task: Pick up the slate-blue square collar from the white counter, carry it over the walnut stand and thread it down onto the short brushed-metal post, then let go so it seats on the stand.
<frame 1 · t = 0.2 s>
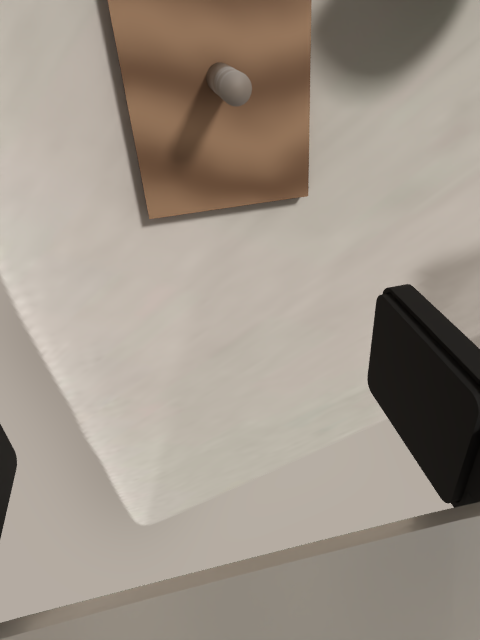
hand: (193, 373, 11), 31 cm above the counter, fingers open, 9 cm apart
shaft stand: (217, 75, 35), on the counter
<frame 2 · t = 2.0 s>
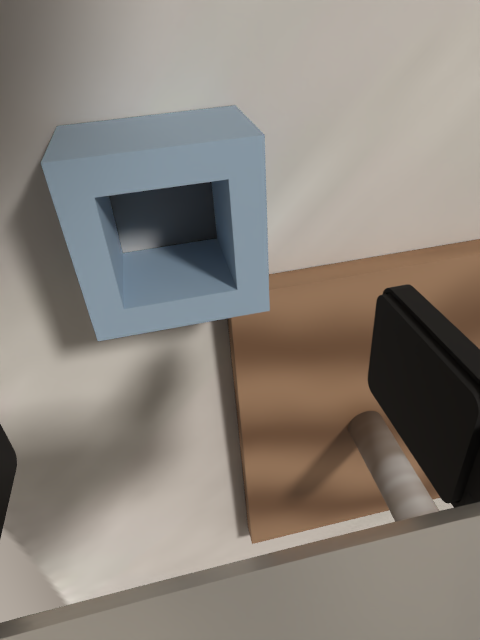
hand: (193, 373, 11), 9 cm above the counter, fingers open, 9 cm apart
shaft stand: (356, 407, 27), on the counter
collar: (162, 200, 17), on the counter
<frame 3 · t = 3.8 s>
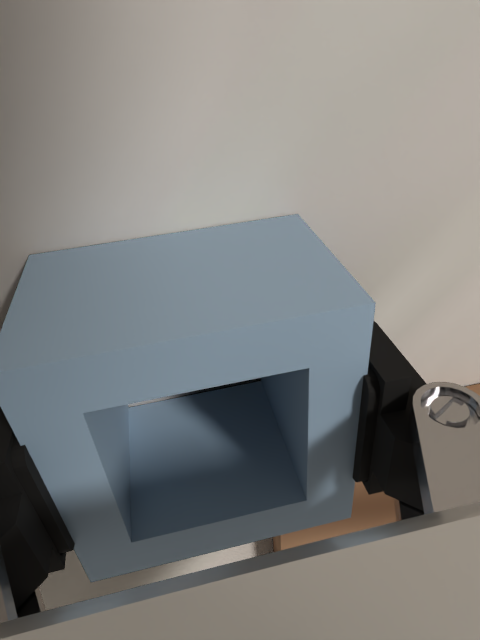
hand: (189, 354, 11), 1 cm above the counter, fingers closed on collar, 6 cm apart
shaft stand: (422, 546, 21), on the counter
collar: (187, 340, 12), on the counter, touching gripper
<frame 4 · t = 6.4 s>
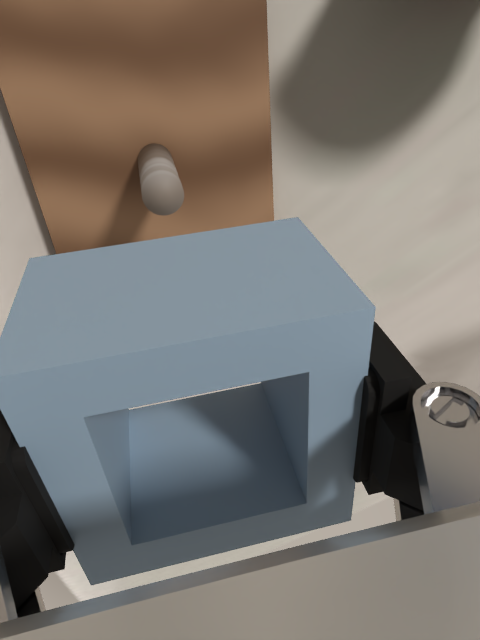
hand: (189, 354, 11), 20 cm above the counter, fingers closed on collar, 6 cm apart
shaft stand: (153, 155, 28), on the counter
collar: (187, 343, 12), point 19 cm above the counter, touching gripper
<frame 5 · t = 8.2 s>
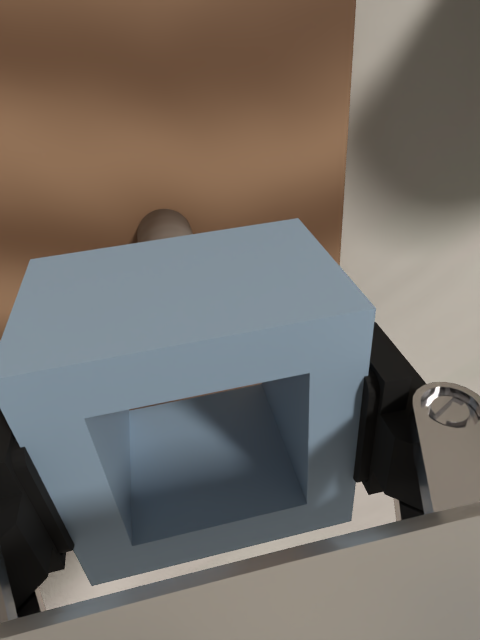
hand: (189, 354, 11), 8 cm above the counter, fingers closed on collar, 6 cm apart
shaft stand: (162, 222, 18), on the counter
collar: (187, 344, 12), point 8 cm above the counter, touching gripper
when the fingers open (6 cm above the counter, at t = 9.5 s): collar drops 4 cm, resting on shaft stand.
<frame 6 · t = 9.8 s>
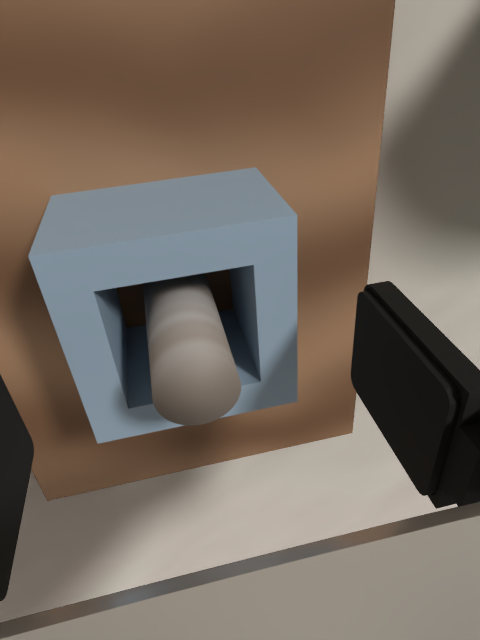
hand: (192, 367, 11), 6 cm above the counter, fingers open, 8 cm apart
shaft stand: (169, 255, 16), on the counter
collar: (172, 271, 15), point 1 cm above the counter, touching shaft stand
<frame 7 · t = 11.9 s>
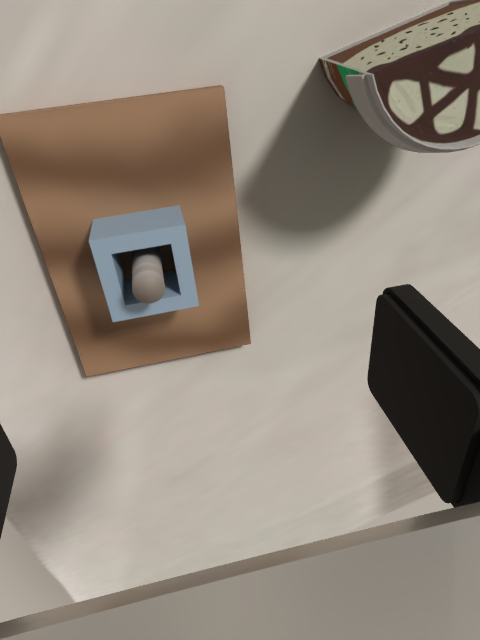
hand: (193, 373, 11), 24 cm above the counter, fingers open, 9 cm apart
shaft stand: (145, 245, 35), on the counter
food container: (390, 78, 32), on the counter
collar: (145, 251, 34), point 1 cm above the counter, touching shaft stand
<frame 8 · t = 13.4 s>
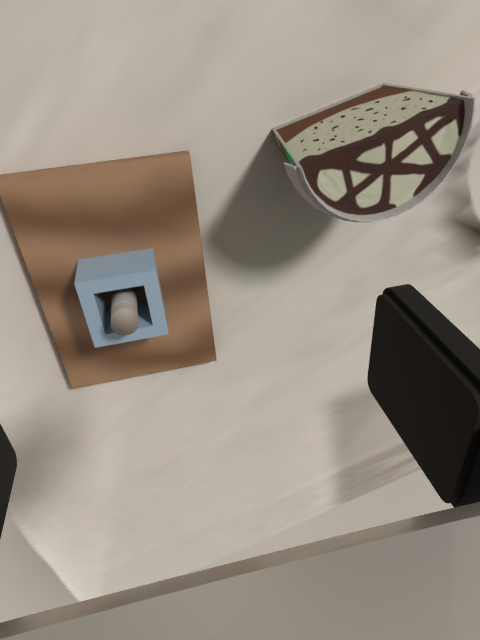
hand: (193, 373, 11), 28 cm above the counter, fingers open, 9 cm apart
shaft stand: (123, 278, 40), on the counter
food container: (334, 143, 38), on the counter
collar: (123, 285, 39), point 1 cm above the counter, touching shaft stand
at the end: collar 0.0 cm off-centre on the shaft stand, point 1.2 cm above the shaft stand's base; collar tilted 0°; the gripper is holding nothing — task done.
